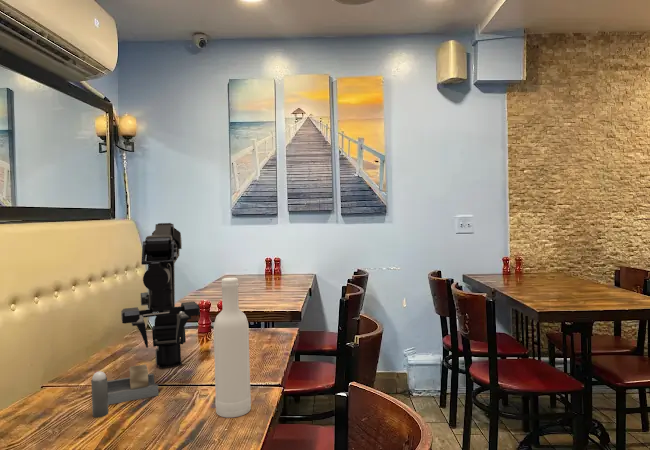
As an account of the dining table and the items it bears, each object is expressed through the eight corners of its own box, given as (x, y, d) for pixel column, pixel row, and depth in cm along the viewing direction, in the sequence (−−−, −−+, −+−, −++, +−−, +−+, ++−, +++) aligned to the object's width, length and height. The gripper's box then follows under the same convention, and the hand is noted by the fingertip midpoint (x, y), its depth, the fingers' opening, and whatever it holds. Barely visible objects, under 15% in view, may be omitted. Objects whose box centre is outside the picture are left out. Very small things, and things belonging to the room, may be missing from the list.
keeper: (146, 383, 121) (146, 364, 121) (148, 388, 117) (147, 369, 117) (130, 386, 119) (129, 366, 119) (131, 391, 115) (130, 371, 115)
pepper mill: (108, 410, 107) (106, 368, 107) (108, 415, 105) (106, 372, 104) (92, 413, 106) (91, 370, 106) (92, 418, 103) (90, 375, 103)
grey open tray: (153, 382, 125) (153, 362, 124) (158, 395, 116) (157, 373, 115) (95, 392, 118) (94, 371, 118) (95, 407, 109) (94, 383, 109)
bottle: (257, 405, 108) (254, 276, 107) (240, 420, 101) (236, 281, 100) (227, 401, 111) (223, 275, 110) (208, 415, 103) (204, 280, 102)
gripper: (191, 278, 132) (193, 333, 132) (119, 284, 123) (121, 342, 124) (199, 283, 122) (201, 342, 122) (121, 290, 113) (123, 353, 114)
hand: (162, 345), depth 121 cm, fingers open, 7 cm apart
